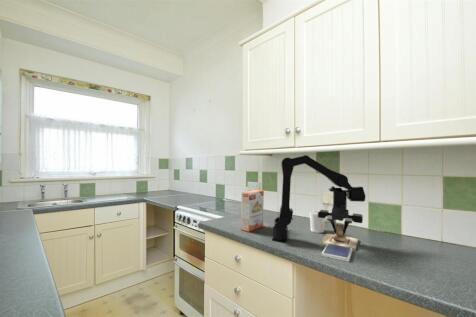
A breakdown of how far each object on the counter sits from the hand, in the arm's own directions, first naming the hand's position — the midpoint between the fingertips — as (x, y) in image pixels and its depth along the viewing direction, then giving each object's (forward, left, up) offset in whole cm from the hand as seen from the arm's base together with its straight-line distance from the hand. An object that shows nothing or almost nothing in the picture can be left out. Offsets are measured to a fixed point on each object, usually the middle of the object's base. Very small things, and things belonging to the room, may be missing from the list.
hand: (339, 234), depth 108 cm
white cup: (-13, +12, -4) cm, 18 cm away
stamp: (0, 0, -2) cm, 2 cm away
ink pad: (+1, -14, -4) cm, 15 cm away
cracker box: (-45, -2, -4) cm, 45 cm away
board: (0, 0, -4) cm, 4 cm away
